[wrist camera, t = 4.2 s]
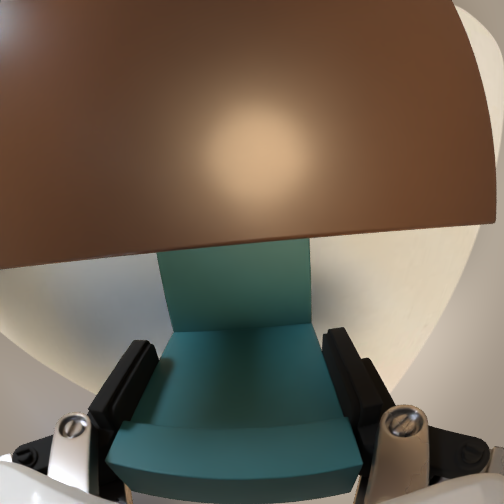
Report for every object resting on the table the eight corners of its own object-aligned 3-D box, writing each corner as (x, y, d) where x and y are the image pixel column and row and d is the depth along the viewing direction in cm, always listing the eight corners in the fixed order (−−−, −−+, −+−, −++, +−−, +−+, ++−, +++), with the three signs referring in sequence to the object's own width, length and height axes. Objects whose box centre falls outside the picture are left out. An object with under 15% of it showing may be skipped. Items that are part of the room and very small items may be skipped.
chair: (295, 298, 17) (350, 492, 5) (201, 305, 17) (131, 491, 5) (285, 158, 15) (399, 85, 2) (182, 170, 15) (-10, 165, 3)
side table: (140, 210, 16) (-21, 272, 4) (131, 64, 13) (11, -22, 2) (338, 190, 15) (497, 224, 4) (318, 39, 13) (386, -94, 1)
